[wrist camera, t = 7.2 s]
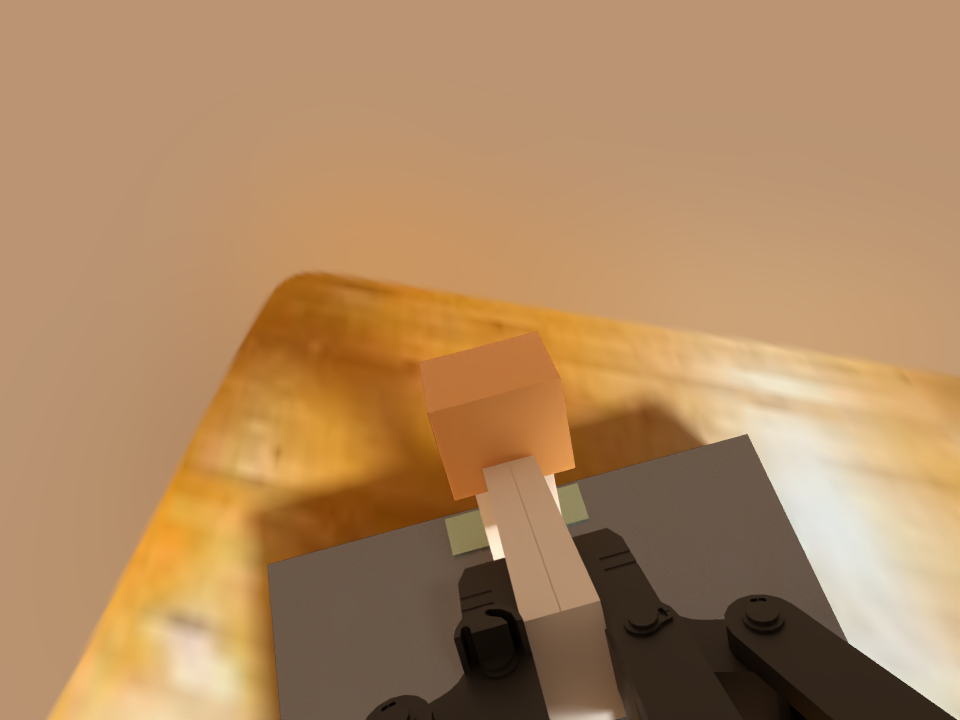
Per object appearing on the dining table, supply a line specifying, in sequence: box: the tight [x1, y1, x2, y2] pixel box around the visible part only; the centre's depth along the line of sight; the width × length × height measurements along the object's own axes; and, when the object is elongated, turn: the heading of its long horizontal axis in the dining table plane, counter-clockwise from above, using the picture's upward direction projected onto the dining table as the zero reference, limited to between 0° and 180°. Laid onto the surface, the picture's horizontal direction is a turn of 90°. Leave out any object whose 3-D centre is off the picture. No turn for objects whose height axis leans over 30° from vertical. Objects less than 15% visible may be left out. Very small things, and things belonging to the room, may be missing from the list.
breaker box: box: [267, 434, 848, 720], centre depth 27 cm, size 22×12×6 cm, turn 104°
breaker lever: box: [419, 332, 575, 560], centre depth 22 cm, size 4×3×14 cm
